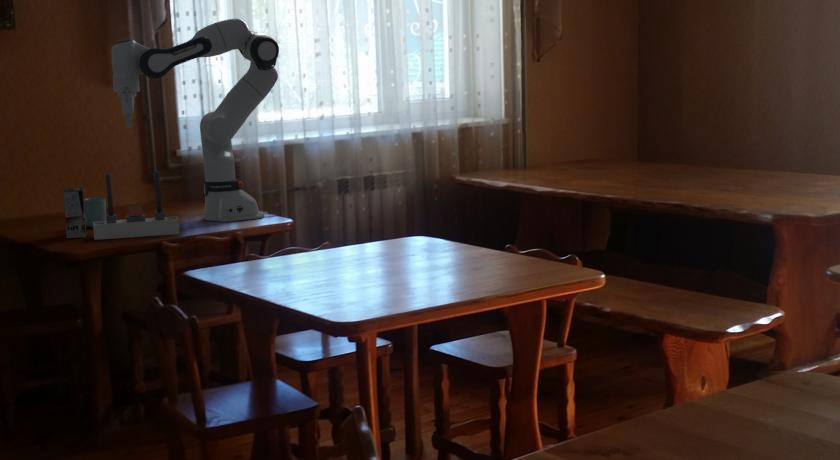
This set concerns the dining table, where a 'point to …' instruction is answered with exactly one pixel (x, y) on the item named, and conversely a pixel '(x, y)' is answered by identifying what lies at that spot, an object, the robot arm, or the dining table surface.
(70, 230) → the coffee box
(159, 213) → the cord
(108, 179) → the cord
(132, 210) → the block
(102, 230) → the power strip
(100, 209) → the cup
